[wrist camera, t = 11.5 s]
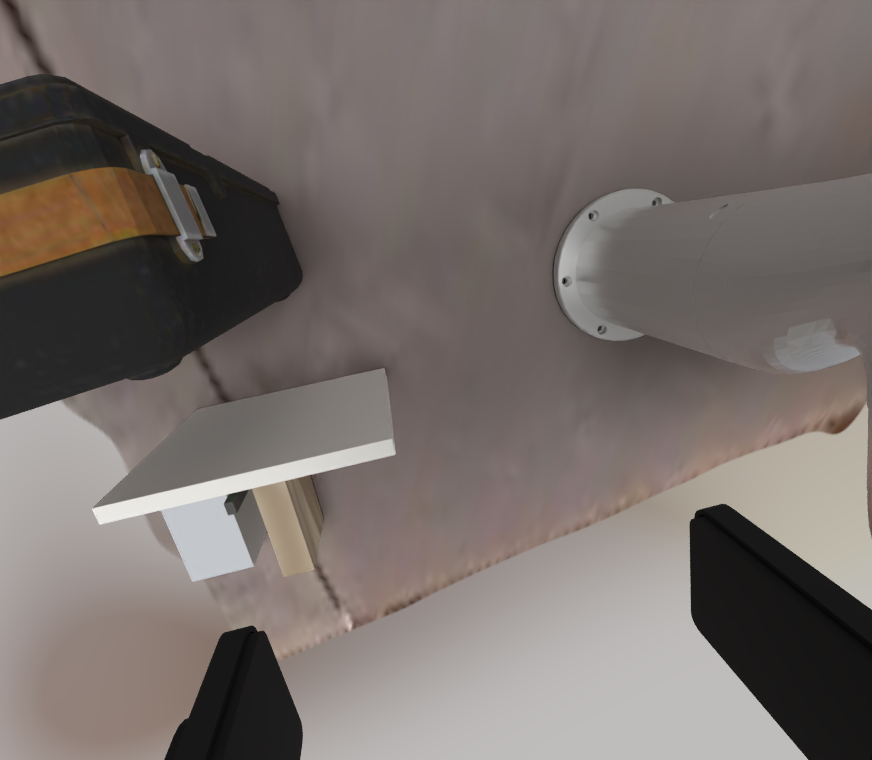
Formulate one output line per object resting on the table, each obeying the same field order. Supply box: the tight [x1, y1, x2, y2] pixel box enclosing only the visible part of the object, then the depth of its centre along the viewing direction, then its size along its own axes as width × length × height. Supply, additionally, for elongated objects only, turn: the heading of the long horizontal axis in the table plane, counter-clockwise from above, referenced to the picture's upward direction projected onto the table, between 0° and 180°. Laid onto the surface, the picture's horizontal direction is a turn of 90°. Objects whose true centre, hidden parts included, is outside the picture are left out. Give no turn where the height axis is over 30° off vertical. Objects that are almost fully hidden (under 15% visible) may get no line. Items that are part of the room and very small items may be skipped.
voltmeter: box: [0, 74, 302, 419], centre depth 23 cm, size 16×9×25 cm, turn 107°
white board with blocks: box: [92, 368, 396, 582], centre depth 33 cm, size 19×13×15 cm
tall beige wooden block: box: [224, 475, 323, 577], centre depth 34 cm, size 2×11×14 cm, turn 11°
